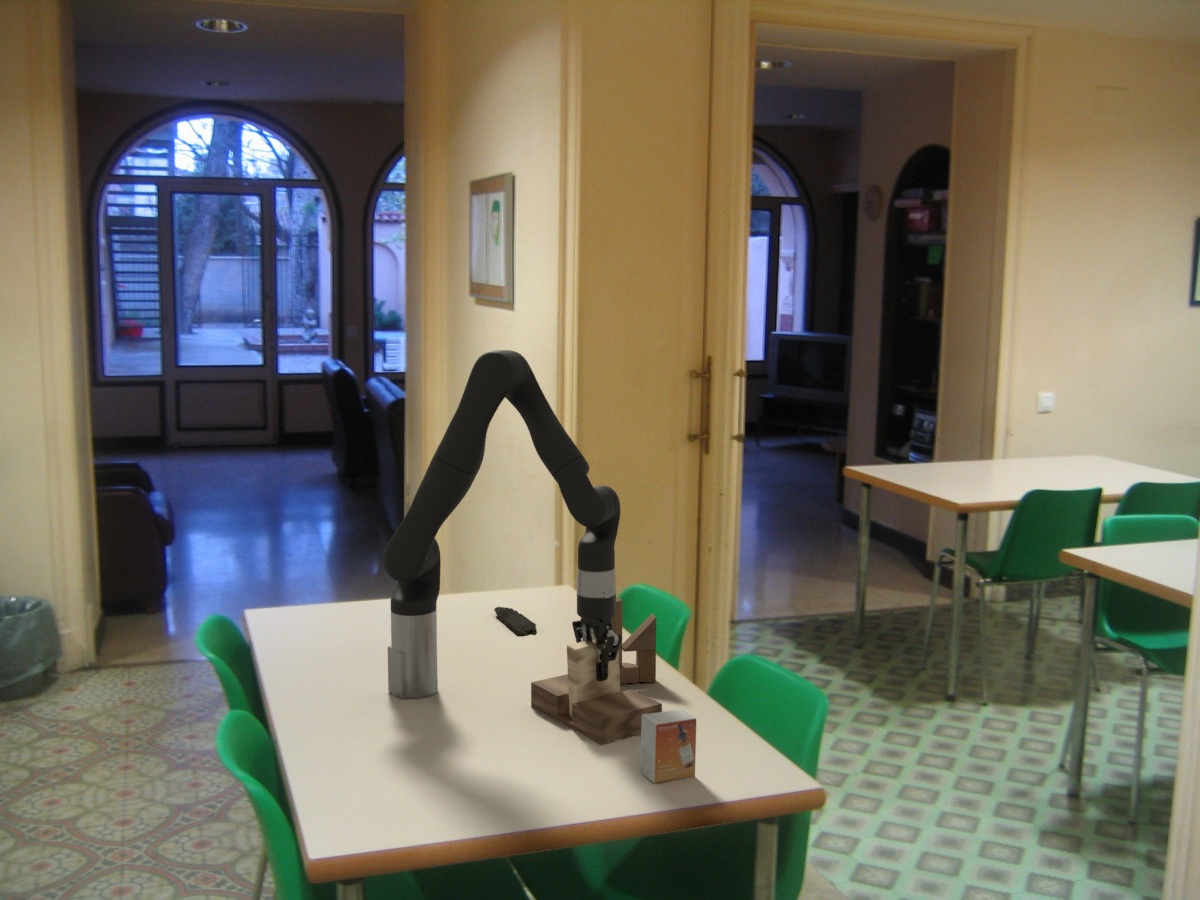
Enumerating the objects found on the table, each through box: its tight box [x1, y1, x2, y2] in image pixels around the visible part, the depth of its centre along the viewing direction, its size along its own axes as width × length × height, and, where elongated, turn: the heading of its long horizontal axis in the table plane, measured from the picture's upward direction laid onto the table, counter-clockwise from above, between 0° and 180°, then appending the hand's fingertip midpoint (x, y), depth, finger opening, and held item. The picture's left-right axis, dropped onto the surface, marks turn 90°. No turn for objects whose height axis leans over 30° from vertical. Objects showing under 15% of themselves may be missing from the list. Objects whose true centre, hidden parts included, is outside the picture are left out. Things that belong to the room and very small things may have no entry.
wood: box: [493, 606, 537, 637], centre depth 292 cm, size 22×7×3 cm, turn 23°
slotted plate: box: [530, 673, 663, 746], centre depth 229 cm, size 14×24×5 cm, turn 35°
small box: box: [640, 708, 697, 784], centre depth 202 cm, size 8×6×10 cm
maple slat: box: [566, 640, 621, 716], centre depth 228 cm, size 10×3×14 cm, turn 125°
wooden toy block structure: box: [611, 597, 658, 685], centre depth 249 cm, size 4×11×18 cm, turn 102°
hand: (596, 677), depth 229 cm, fingers closed on maple slat, 3 cm apart
